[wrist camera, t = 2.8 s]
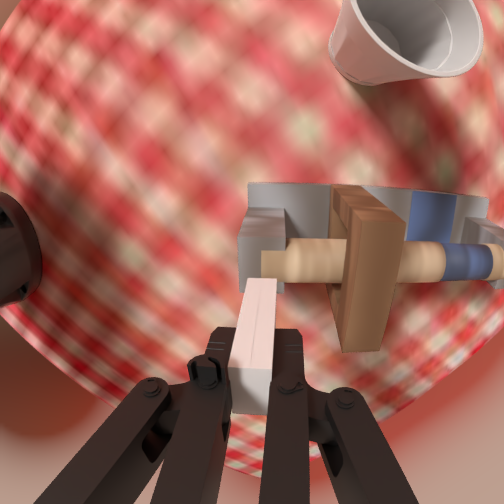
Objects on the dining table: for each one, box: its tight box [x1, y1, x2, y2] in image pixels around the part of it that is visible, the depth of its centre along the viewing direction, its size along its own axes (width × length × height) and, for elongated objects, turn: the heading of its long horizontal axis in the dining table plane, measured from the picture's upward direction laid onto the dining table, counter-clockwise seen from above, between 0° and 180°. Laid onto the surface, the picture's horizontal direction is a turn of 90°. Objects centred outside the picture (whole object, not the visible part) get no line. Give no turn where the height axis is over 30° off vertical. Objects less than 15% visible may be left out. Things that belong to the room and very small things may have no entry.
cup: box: [328, 0, 483, 86], centre depth 15 cm, size 8×8×12 cm
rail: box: [237, 182, 504, 294], centre depth 22 cm, size 24×8×8 cm, turn 91°
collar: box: [325, 184, 406, 353], centre depth 21 cm, size 2×8×10 cm, turn 1°
